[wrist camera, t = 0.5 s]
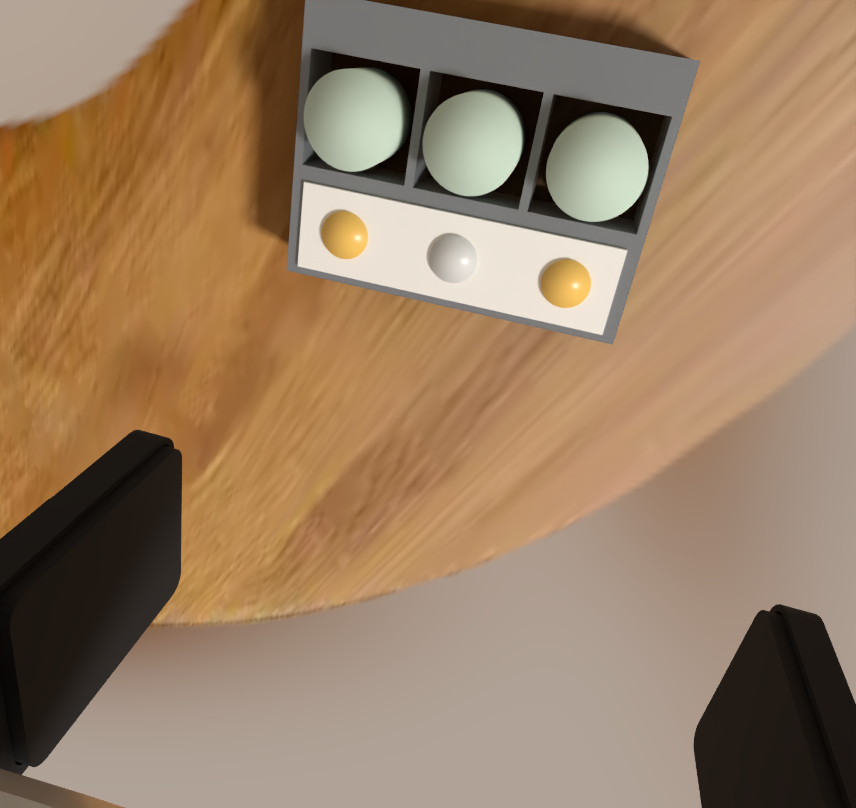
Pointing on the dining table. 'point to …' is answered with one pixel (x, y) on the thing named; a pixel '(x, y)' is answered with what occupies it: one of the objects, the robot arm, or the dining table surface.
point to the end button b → (597, 167)
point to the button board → (489, 213)
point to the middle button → (474, 142)
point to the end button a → (357, 118)
